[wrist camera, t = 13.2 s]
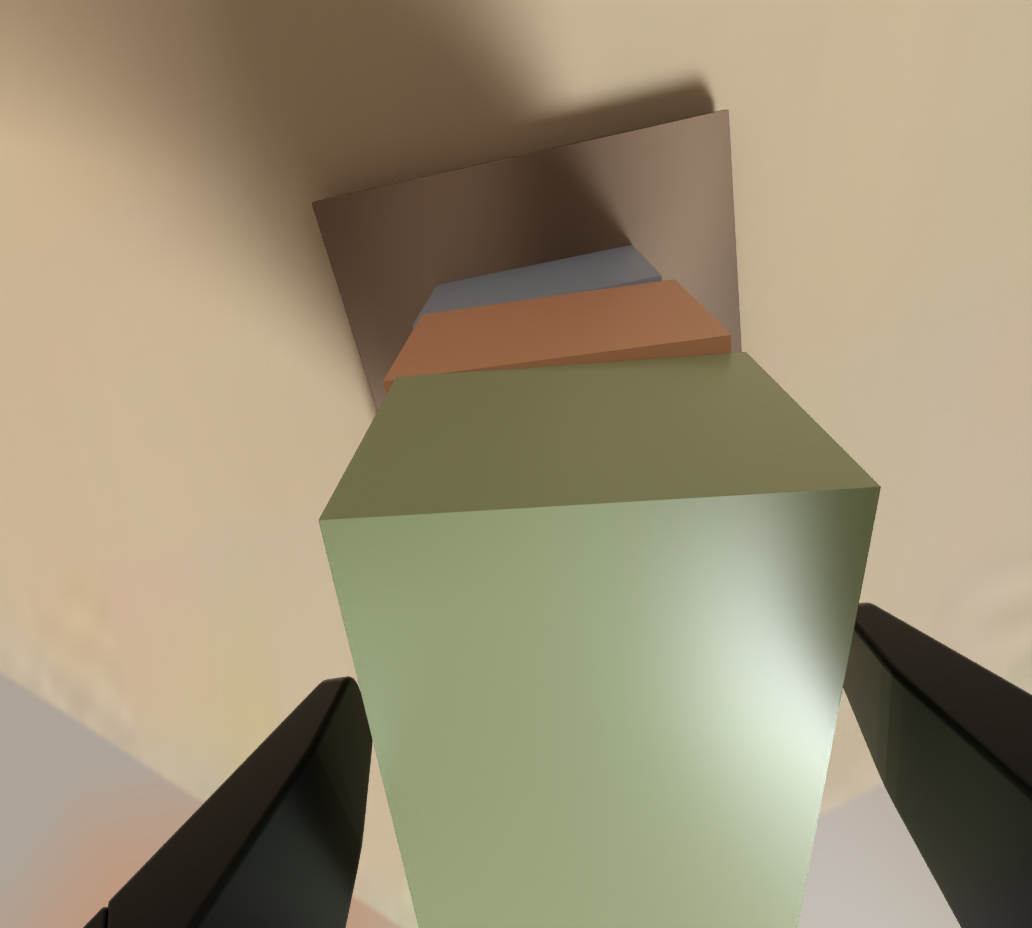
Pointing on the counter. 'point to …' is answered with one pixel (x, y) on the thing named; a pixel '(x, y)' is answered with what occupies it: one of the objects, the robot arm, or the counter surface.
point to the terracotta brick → (563, 332)
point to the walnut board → (538, 226)
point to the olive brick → (601, 637)
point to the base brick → (545, 280)
